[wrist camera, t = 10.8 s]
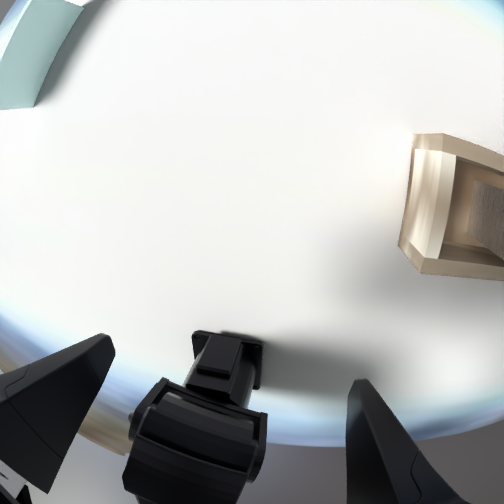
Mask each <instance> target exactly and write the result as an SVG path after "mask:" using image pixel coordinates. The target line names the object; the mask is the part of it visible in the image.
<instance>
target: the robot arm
mask: <svg viewBox="0 0 504 504" xmlns="http://www.w3.org/2000/svg"><path fill="white" fill-rule="evenodd" d="M197 336H198V337H197ZM192 344H193V351H194V358H195V361H194V363H193V365H192V367H191V369H190V371H189V373H188V375H187V377H186V379H185V381H184V383H183V385H182V386H180V385H178V384H175V383H173V382H171V381H169V379H166V378H164V377H162V379H161V380H160V381H159V382H158V383H156V384H155V385H154V387H153V388H152V389H151V390H150V392H149V393H148V394H147V395H146V397H145V398H144V399H143V400H142V401H141V403H140V404H139V405H138V406H137V408H136V409H134V410H133V411H132V412H131V413H130V414H129V417H128V419H129V422H130V424H131V425H130V429H129V435H128V437H129V440H130V441H132V442H133V445H132V448H131V451H130V455H129V458H128V461H127V465H126V467H125V470H124V472H123V475H122V480H123V484H124V489H125V490H126V491H128V492H130V493H132V494H134V495H135V496H136V499H137V501H138V503H139V504H236V503H237V500H238V498H239V496H240V494H241V492H242V490H243V487H244V485H245V483H253V482H254V480H255V479H256V477H257V475H258V473H259V471H260V469H261V466H262V463H263V460H264V455H265V451H266V437H267V417H268V414H267V413H263V412H261V413H259V412H256V411H252V410H249V409H247V408H248V404H249V400H250V396H251V392H252V389H253V390H258V389H259V388H260V384H261V372H262V360H263V348H264V345H263V343H262V342H260V341H255V340H248V339H241V338H235V337H228V336H222V335H216V334H211V333H205V332H200V331H195V332H194V333H193V334H192ZM256 346H259V347H256ZM114 357H115V348H114V345H113V343H112V340H111V337H110V336H109V335H106V334H103V333H100V334H97V335H95V336H93V337H90V338H88V339H86V340H84V341H81V342H79V343H77V344H74V345H72V346H70V347H68V348H65V349H63V350H61V351H58V352H56V353H54V354H51V355H49V356H47V357H44V358H42V359H40V360H37V361H35V362H33V363H31V364H28V365H26V366H23V367H21V368H18V369H16V370H13V371H10V372H7V373H4V374H1V375H0V504H32V502H31V498H30V493H29V489H28V486H27V485H26V484H25V483H26V482H27V481H28V482H30V483H31V484H33V485H34V486H36V487H37V488H39V489H40V490H42V491H43V492H45V493H46V494H48V493H49V491H50V489H51V487H52V484H53V482H54V479H55V477H56V475H57V473H58V471H59V469H60V466H61V464H62V462H63V459H64V458H65V455H66V453H67V451H68V449H69V447H70V445H71V443H72V441H73V439H74V437H75V435H76V433H77V431H78V429H79V427H80V425H81V424H82V422H83V420H84V418H85V416H86V414H87V412H88V410H89V408H90V407H91V405H92V403H93V401H94V399H95V397H96V396H97V394H98V392H99V390H100V388H101V386H102V384H103V382H104V380H105V378H106V375H107V373H108V371H109V368H110V366H111V364H112V362H113V359H114ZM255 385H256V386H255ZM346 465H347V504H471V503H469V502H467V501H465V500H464V499H462V498H461V497H460V496H459V495H458V494H457V493H456V492H455V491H454V490H453V489H452V488H451V487H450V486H449V484H448V483H447V482H446V481H445V480H444V479H443V478H442V477H441V476H440V475H439V474H438V472H437V471H436V470H435V469H434V468H433V467H432V465H431V464H430V463H429V461H428V460H427V459H426V458H425V456H424V455H423V453H422V452H421V451H420V450H419V448H418V447H417V445H416V444H415V442H414V441H413V440H412V438H411V437H410V435H409V434H408V433H407V431H406V430H405V429H404V427H403V426H402V425H401V423H400V422H399V420H398V419H397V418H396V416H395V415H394V414H393V412H392V411H391V410H390V408H389V407H388V405H387V404H386V403H385V401H384V400H383V399H382V397H381V396H380V395H379V393H378V392H377V391H376V389H375V388H374V387H373V385H372V384H371V383H370V381H369V380H368V379H365V378H357V379H355V381H354V383H353V385H352V387H351V390H350V392H349V395H348V404H347V422H346Z"/></svg>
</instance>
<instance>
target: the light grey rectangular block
mask: <svg viewBox="0 0 504 504" xmlns="http://www.w3.org/2000/svg"><path fill="white" fill-rule="evenodd" d="M465 232H466V233H467V234H469V235H470V236H472V237H473V238H474V239H476V240H477V241H479V242H480V243H481V244H483V245H484V246H486V247H487V248H488V249H490V250H491V251H492V252H493V253H495V254H496V255H497V256H499V257H500V258H501V259H502V260H504V190H503V189H501V188H498V187H495V186H492V185H489V184H486V183H483V182H479V181H476V180H474V187H473V194H472V200H471V206H470V211H469V216H468V221H467V226H466V230H465Z"/></svg>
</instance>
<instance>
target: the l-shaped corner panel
mask: <svg viewBox="0 0 504 504" xmlns="http://www.w3.org/2000/svg"><path fill="white" fill-rule="evenodd" d="M83 9H84V7H81V6H78V5H76V4H73V3H70V2H67V1H64V0H28V2H27V4H26V5H25V7H24V9H23V10H22V12H21V14H20V16H19V17H18V19H17V21H16V23H15V25H14V27H13V29H12V31H11V33H10V35H9V37H8V39H7V41H6V43H5V45H4V47H3V50H2V52H1V54H0V110H5V109H18V108H33V107H34V104H35V101H36V99H37V96H38V94H39V91H40V89H41V86H42V84H43V82H44V79H45V77H46V75H47V73H48V71H49V68H50V66H51V64H52V62H53V60H54V58H55V56H56V54H57V52H58V50H59V49H60V47H61V45H62V43H63V41H64V40H65V38H66V36H67V34H68V33H69V31H70V29H71V28H72V26H73V24H74V23H75V21H76V20H77V18H78V17H79V15H80V14H81V12H82V11H83Z"/></svg>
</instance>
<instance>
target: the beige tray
mask: <svg viewBox="0 0 504 504" xmlns="http://www.w3.org/2000/svg"><path fill="white" fill-rule="evenodd" d="M474 180H476V181H479V182H483V183H486V184H489V185H492V186H495V187H498V188H501V189H503V190H504V156H503V155H501V154H498V153H496V152H494V151H491V150H489V149H486V148H484V147H481V146H479V145H476V144H473V143H471V142H468V141H465V140H462V139H459V138H456V137H453V136H450V135H447V134H444V133H437V134H413V140H412V154H411V165H410V175H409V183H408V191H407V198H406V204H405V211H404V216H403V222H402V227H401V233H400V238H399V242H398V246H399V248H400V249H401V250H402V251H403V252H404V254H405V255H406V256H407V257H408V259H409V260H410V261H411V262H412V264H413V265H414V266H415V268H416V269H417V270H418V271H419V273H423V274H434V275H444V276H455V277H466V278H477V279H488V280H499V281H504V260H502V259H501V258H500V257H499V256H497V255H496V254H495V253H493V252H492V251H491V250H490V249H488V248H487V247H486V246H484V245H483V244H481V243H480V242H479V241H477V240H476V239H474V238H473V237H472V236H470V235H469V234H467V233H466V232H465V230H466V226H467V221H468V216H469V211H470V206H471V200H472V194H473V187H474Z"/></svg>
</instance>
